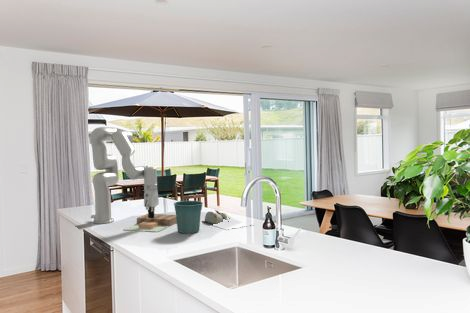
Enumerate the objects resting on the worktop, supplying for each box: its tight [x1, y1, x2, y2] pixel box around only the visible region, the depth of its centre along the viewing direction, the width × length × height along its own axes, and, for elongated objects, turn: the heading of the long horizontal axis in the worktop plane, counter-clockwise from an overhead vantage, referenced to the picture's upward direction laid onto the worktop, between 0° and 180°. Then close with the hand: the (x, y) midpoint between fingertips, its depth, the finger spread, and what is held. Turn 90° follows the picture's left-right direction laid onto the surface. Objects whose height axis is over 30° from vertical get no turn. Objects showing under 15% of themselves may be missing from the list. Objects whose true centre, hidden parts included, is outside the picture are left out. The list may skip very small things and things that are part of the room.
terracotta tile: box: [138, 222, 157, 229], centre depth 224 cm, size 9×6×2 cm, turn 75°
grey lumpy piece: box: [200, 209, 231, 226], centre depth 235 cm, size 33×8×20 cm
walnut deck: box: [136, 213, 177, 227], centre depth 237 cm, size 22×14×4 cm, turn 74°
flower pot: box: [173, 200, 204, 235], centre depth 214 cm, size 16×16×16 cm
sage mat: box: [123, 223, 170, 233], centre depth 223 cm, size 22×14×1 cm, turn 74°
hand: (151, 217), depth 228 cm, fingers closed
